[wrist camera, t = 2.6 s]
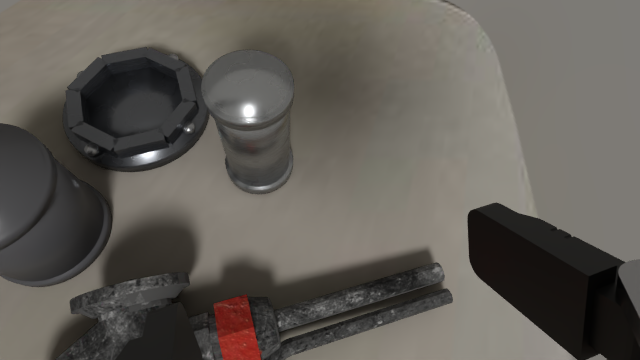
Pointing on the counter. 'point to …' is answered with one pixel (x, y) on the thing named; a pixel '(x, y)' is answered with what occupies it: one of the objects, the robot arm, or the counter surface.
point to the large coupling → (45, 214)
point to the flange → (135, 110)
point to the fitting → (252, 117)
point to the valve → (245, 316)
